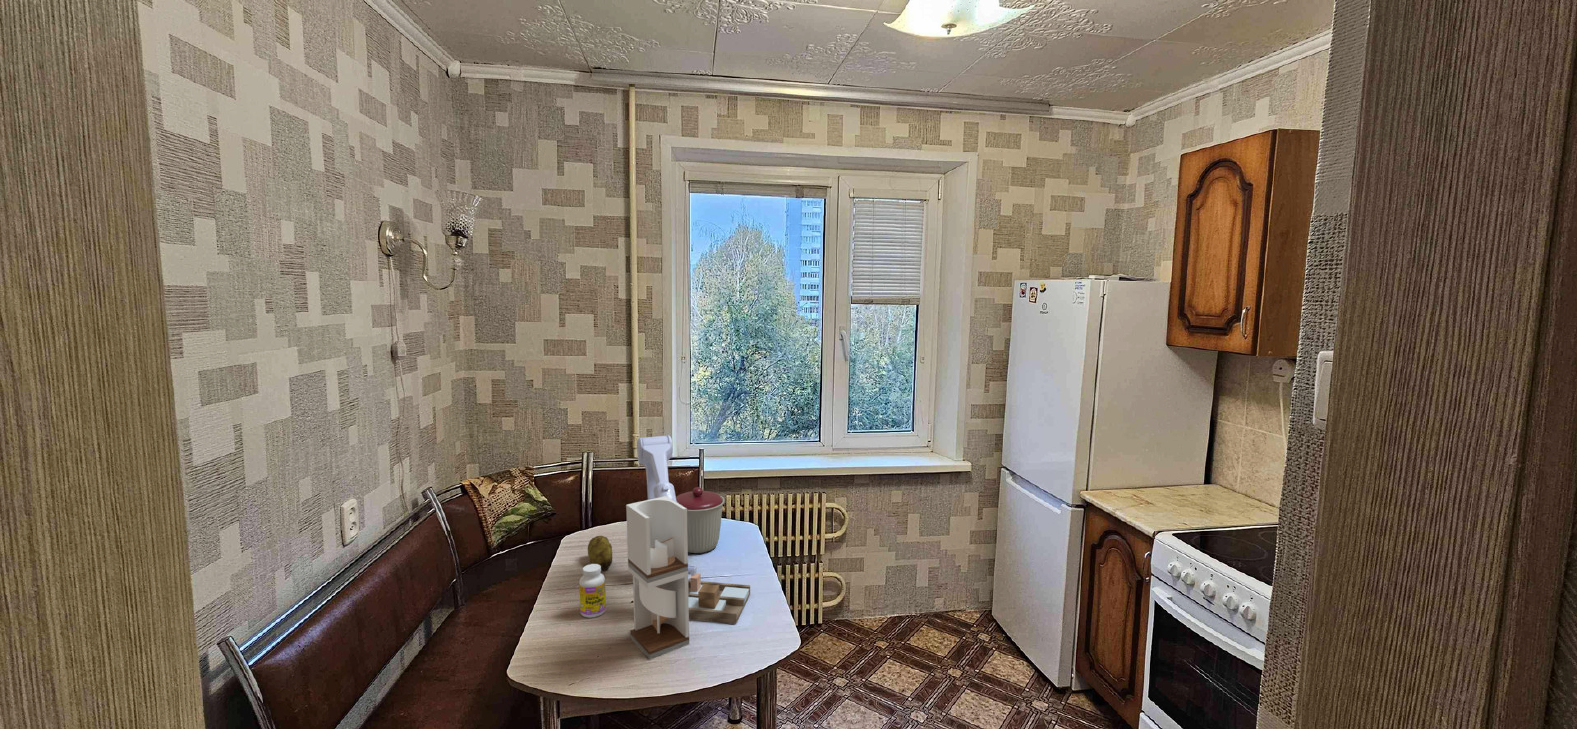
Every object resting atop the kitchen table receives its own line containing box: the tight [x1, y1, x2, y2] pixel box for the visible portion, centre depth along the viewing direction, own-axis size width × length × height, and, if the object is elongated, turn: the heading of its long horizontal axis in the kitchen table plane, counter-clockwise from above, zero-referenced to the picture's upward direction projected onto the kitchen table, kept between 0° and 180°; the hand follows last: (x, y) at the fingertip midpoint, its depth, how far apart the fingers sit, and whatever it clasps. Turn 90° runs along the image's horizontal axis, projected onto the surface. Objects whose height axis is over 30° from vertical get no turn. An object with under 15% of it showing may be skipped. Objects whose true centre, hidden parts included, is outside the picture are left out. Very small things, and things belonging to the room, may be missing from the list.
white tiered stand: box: [625, 496, 690, 660], centre depth 152 cm, size 11×11×35 cm
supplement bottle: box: [578, 563, 607, 618], centre depth 167 cm, size 7×7×13 cm
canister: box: [676, 486, 726, 554], centre depth 209 cm, size 18×18×21 cm
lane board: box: [688, 579, 751, 625], centre depth 172 cm, size 22×16×3 cm
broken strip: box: [689, 572, 749, 603], centre depth 175 cm, size 16×6×6 cm, turn 80°
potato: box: [587, 535, 613, 571], centre depth 197 cm, size 8×13×8 cm, turn 11°
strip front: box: [688, 597, 726, 611], centre depth 168 cm, size 16×6×5 cm, turn 80°
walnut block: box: [698, 584, 719, 609], centre depth 167 cm, size 4×4×4 cm
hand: (670, 597), depth 169 cm, fingers closed on strip front, 2 cm apart
